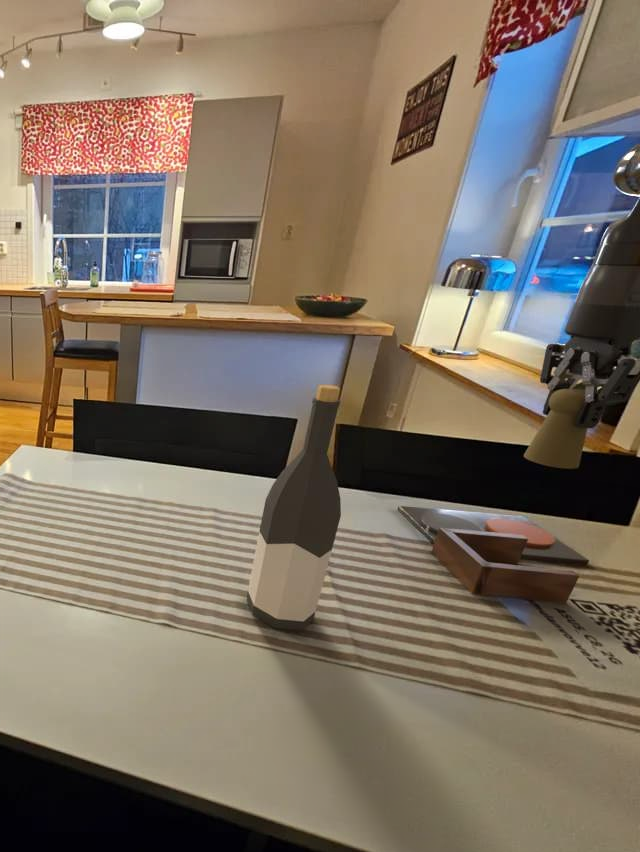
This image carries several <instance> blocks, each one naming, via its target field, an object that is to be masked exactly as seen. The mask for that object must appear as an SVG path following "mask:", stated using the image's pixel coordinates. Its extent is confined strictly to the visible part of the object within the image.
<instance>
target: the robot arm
mask: <svg viewBox="0 0 640 852" xmlns="http://www.w3.org/2000/svg"><path fill="white" fill-rule="evenodd" d="M612 181H613V184H614V186H615V188H616V189H617V190H618V191H619V192H621V193H623V194H625V195H628V196H635V197H639V198H638V199H637V201H636V202H635V204H634V206H632V207H633V208H632V209H631V211H630V212H629V213H627V214H626V215H624V216H623V217H621V218H618V219H616V220H615V221H613V222H611V223H610V224H609V226H608V227H607V228H606V230H605V232H604V233H603V236H602V237H601V240H600V243H599V246H598V248H597V250H596V253H595V255H594V256H595V257H594V259H593V261H592V265H591V266H590V268H589V270H588V272H587V274H586V276H585V278H584V279H583V281H582V283H581V285H580V288H579V290H578V293H577V296H576V299H575V301H574V304H573V306H572V309H571V312H570V314H569V317H568V320H567V322H566V325H565V328H564V333H565V334H566V335H568V336H570V338H569V339H568V340H567V342H565V343H549V344H547V345H546V348H545V352H544V358H543V361H542V362H543V363H542V366H541V367H542V368H541V371H540V372H541V373H540V378H539V382H540V383H541V384H545V385H546V387H547V388H546V389H547V390H549V392H548V394H547V396H546V400H545V402H544V404H543V410H542V414H543V415H545V416H547V415H548V414H549V412H550V410H551V408H550V406H549V399H550V397H551V395H552V394H553V393H554V392H556V391H557V390H560V389H574V387H575V386H576V385H577V384H578V382H579V381H580V380H581V384H582V385H583V386H584V387H585V389H584V390H585V400H586V401H583V402H582V405H581V407H580V410H579V412H578V414H577V417H576V419H575V422H574V425H575V426H577V427H579V428H587V429H594V428H595V427H596V426H597V425H598V424H599V423H600V421H601V418H602V416H603V414H604V412H605V410H606V407H607V405H609V404H610V403H616V402H617V403H618V402H619V403H620V402H626V401H627V400H628V398H630V396H631V394H632V393H633V392H634V390H635V389H636V387H637V386H638V384H639V383H640V358H637V357H634V356H633V355H632V344H633V343H634V342H635V341H637V340H640V142H639V143H637V144H635V145H634V146H633V147H631V148H630V149H629V150H628V151H627V152H626V153H625V154H624V155H623V156H622V157H621V158H620V160H619V161H618V162H617V164H616V166H615V168H614V171H613V174H612ZM553 368H555V369H554V370H553ZM552 372H553V374H554V375H552ZM605 377H606V378H605ZM598 387H600V388H601V390H600V391H599V392H598ZM619 387H620V388H619ZM617 388H619V389H618V391H616V390H617Z"/></svg>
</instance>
